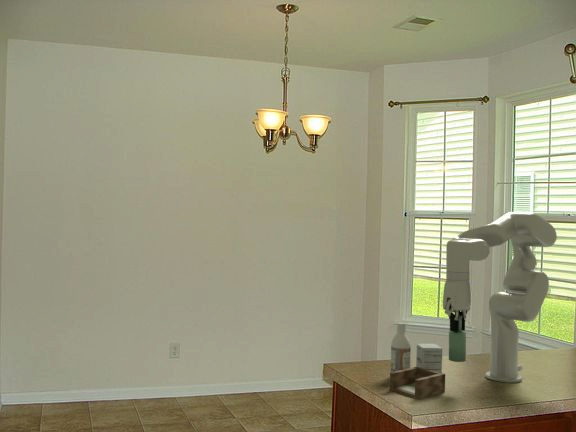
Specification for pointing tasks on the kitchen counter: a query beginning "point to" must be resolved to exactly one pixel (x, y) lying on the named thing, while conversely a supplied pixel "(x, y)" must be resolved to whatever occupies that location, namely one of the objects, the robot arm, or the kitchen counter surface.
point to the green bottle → (457, 344)
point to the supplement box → (429, 357)
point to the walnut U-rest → (417, 382)
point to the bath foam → (400, 349)
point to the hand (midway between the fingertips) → (457, 330)
